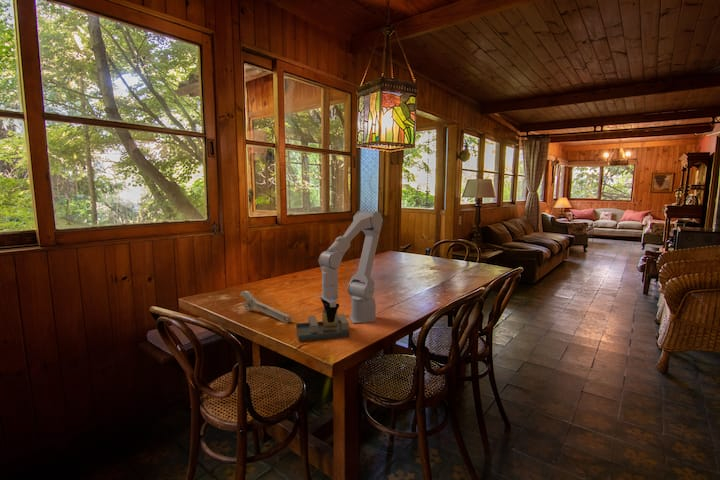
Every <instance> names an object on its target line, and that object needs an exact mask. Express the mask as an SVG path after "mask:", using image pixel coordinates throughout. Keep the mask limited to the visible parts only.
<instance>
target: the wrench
mask: <svg viewBox="0 0 720 480" xmlns="http://www.w3.org/2000/svg"><path fill="white" fill-rule="evenodd" d="M239 297H244V299H245V302H242V303H241V304H242V307H245V309H246V310H247V311H248V312H253V309H255V310H257V311H260V312H261V313H262V312H263V313H264V314H266V315H267V316H268V315H269V316H270V317H273V318H274V319H277V320H278V321H280V322H283V323H286V324H288V323H290V322H291V321H292V319H291V315H289V314H287V313H285V312H283V311H280V310H278V309H276V308H273V307H271V306H269V305H267V304H265V303H262V302H260V301H259V300H257V299H256V298H255V297H254V296H253V294H252V293H251V292H250V291H248V290H244V291H241V292H240V294H239Z"/></svg>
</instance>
